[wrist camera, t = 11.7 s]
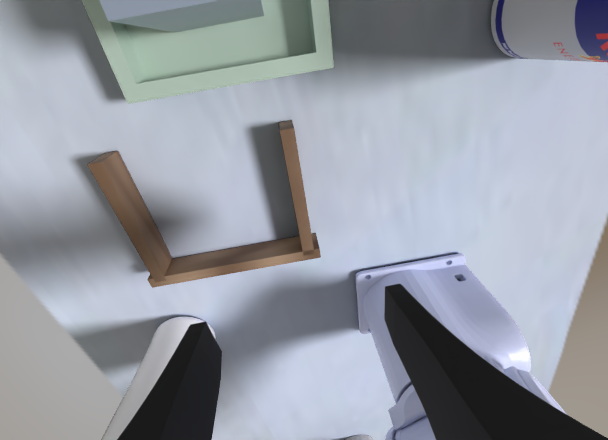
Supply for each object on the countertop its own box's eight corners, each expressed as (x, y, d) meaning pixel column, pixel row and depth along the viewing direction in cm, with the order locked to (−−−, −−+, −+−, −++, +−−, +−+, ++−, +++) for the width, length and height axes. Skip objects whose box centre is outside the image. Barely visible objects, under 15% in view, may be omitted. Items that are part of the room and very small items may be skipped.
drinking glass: (131, 329, 25) (-11, 612, 13) (189, 295, 24) (97, 575, 11) (185, 364, 29) (117, 617, 16) (240, 336, 27) (212, 589, 15)
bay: (298, 119, 18) (300, 126, 16) (316, 241, 22) (320, 257, 21) (98, 154, 17) (80, 165, 16) (161, 269, 22) (152, 287, 21)
